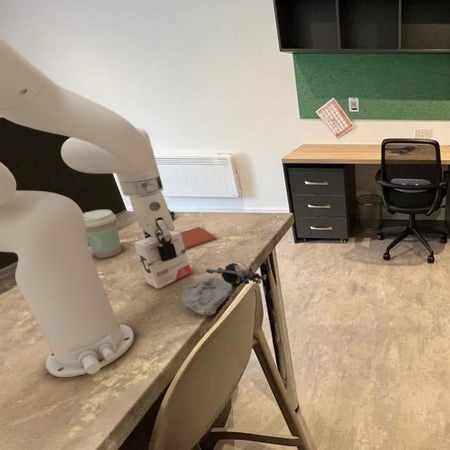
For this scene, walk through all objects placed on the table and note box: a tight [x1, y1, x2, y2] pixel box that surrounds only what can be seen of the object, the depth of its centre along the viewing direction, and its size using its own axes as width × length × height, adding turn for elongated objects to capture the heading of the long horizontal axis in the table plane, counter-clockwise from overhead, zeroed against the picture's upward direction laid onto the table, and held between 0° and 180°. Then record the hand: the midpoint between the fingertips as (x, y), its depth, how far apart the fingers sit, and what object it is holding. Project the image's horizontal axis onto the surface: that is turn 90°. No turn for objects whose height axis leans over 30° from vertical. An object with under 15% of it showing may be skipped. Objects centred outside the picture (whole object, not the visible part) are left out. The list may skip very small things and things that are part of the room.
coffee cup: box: [82, 209, 123, 259], centre depth 95 cm, size 8×8×12 cm
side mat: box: [179, 226, 217, 251], centre depth 107 cm, size 12×10×1 cm
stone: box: [180, 276, 233, 316], centre depth 76 cm, size 9×7×10 cm
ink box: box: [133, 230, 192, 289], centre depth 85 cm, size 8×5×12 cm, turn 152°
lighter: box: [169, 209, 176, 220], centre depth 121 cm, size 8×2×5 cm
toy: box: [205, 260, 267, 285], centre depth 85 cm, size 6×6×15 cm
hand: (162, 253), depth 84 cm, fingers open, 7 cm apart
